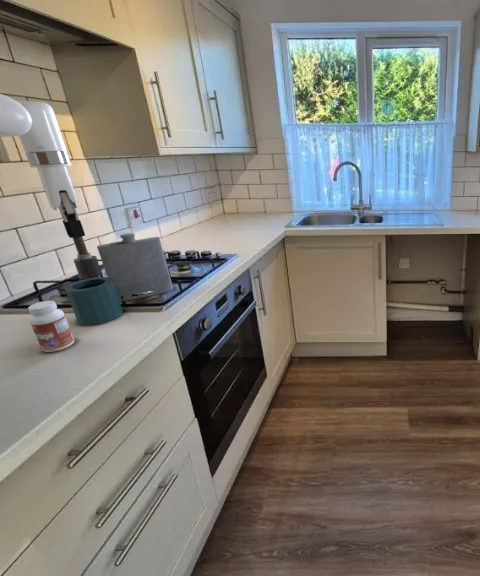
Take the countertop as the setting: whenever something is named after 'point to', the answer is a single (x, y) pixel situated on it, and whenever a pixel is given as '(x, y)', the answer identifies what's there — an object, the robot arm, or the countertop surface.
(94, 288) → the jar
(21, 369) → the countertop surface
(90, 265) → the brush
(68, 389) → the countertop surface
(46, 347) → the pill bottle
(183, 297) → the countertop surface
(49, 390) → the countertop surface
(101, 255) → the hip flask
